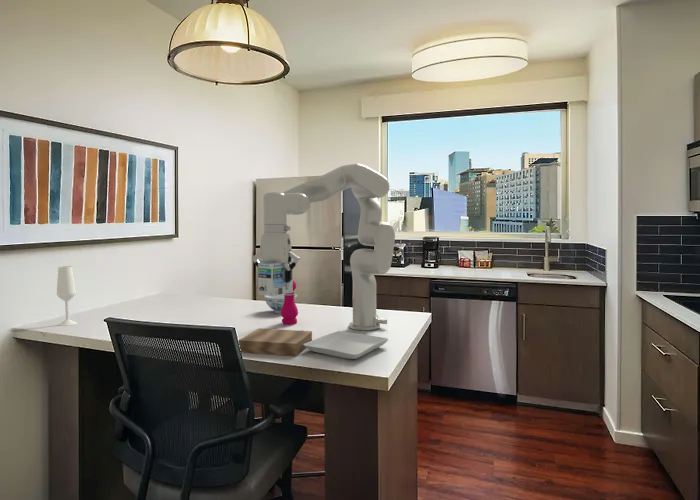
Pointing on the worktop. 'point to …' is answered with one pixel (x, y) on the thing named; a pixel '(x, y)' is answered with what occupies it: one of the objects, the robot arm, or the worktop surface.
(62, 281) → the champagne flute
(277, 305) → the chinaware
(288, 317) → the pepper mill
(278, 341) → the riser block
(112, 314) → the worktop surface
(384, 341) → the salad plate
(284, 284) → the light bulb box
